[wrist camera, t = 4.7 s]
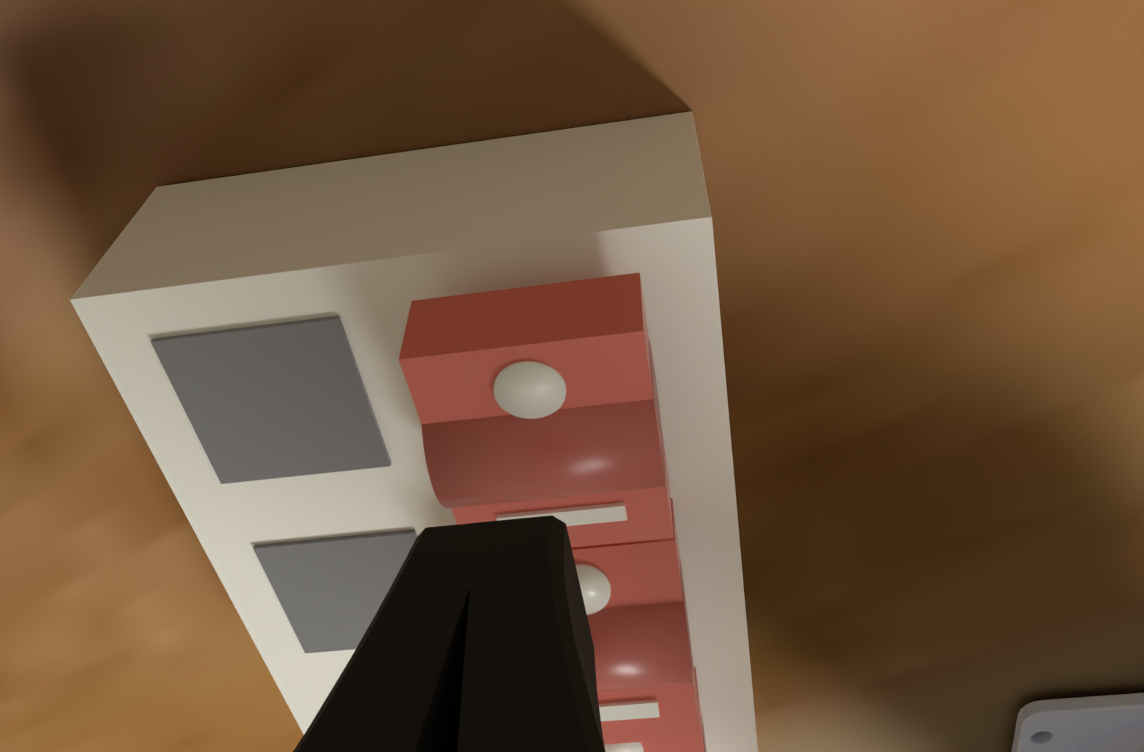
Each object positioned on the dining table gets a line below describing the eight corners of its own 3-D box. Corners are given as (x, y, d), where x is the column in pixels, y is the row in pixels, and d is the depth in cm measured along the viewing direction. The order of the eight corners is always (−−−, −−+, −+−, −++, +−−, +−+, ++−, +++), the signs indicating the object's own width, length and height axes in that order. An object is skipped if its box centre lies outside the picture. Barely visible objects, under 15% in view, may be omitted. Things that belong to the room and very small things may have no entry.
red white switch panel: (741, 636, 24) (760, 777, 21) (369, 667, 25) (339, 805, 22) (692, 111, 16) (712, 220, 13) (156, 186, 17) (66, 303, 14)
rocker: (667, 457, 16) (675, 559, 14) (477, 477, 16) (465, 579, 15) (638, 254, 13) (645, 352, 12) (415, 283, 14) (393, 381, 12)
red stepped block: (695, 671, 18) (701, 756, 16) (528, 684, 18) (516, 769, 16) (671, 484, 16) (675, 555, 15) (490, 503, 17) (471, 574, 15)
